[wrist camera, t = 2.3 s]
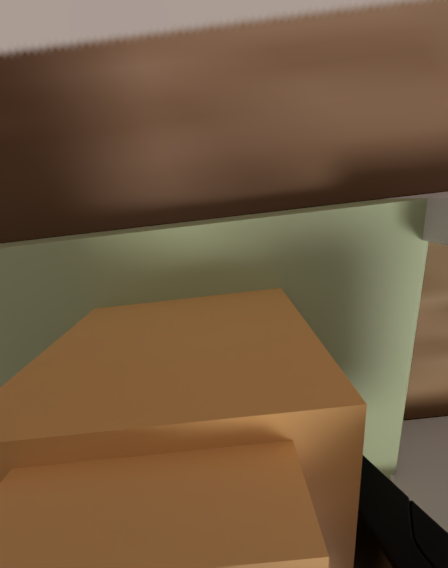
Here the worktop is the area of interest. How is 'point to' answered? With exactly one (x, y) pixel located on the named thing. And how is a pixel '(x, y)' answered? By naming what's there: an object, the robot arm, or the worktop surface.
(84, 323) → the orange stepped block
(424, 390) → the worktop surface
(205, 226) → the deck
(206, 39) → the worktop surface
